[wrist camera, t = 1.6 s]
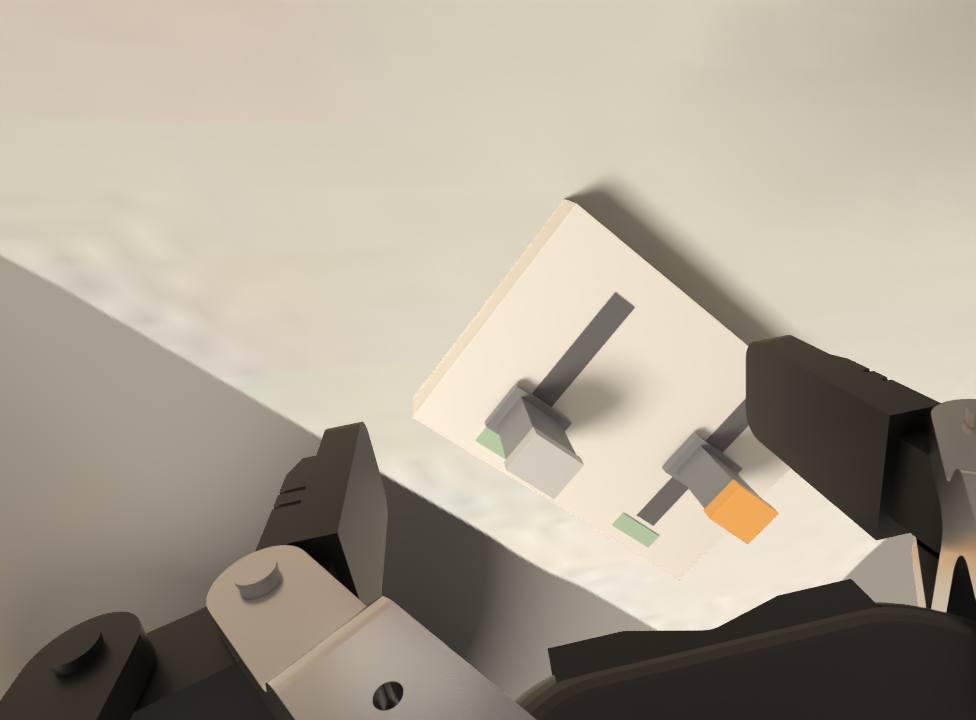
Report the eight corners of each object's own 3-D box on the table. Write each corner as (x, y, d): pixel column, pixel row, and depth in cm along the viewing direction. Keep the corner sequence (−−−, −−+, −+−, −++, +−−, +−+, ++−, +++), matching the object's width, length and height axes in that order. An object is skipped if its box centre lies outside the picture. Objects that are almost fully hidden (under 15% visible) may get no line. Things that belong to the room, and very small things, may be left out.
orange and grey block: (738, 464, 38) (787, 513, 33) (705, 497, 39) (749, 551, 34) (694, 432, 37) (738, 478, 32) (661, 467, 37) (700, 518, 32)
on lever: (569, 419, 35) (594, 465, 30) (538, 455, 36) (557, 507, 31) (515, 382, 34) (532, 424, 29) (484, 421, 35) (495, 469, 30)
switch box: (809, 401, 41) (839, 421, 38) (663, 553, 44) (680, 581, 41) (563, 198, 34) (576, 203, 31) (413, 397, 37) (412, 418, 34)
